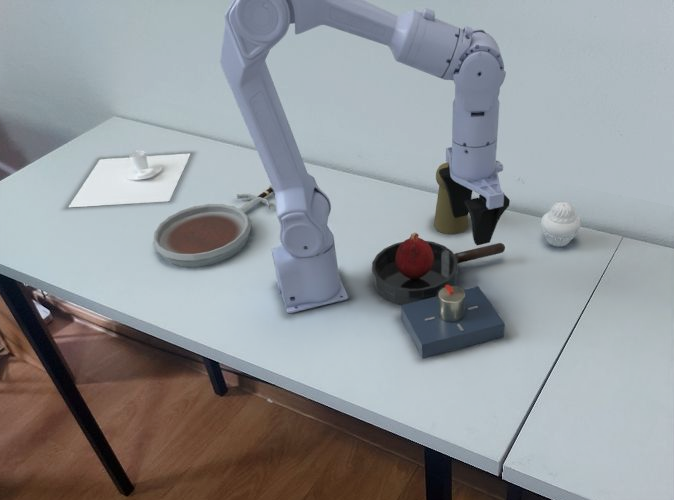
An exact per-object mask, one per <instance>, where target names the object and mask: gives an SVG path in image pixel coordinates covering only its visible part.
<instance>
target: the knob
mask: <svg viewBox="0 0 674 500" xmlns="http://www.w3.org/2000/svg"><path fill="white" fill-rule="evenodd" d="M464 290H465V289H463V288H462V287H460V286H457V285H456V286H450V285H445V287H444V288H442V289H441V290H440V291H439V294H438V305H439V317H440V318H441V319H443V320H444V321H448V322H455V321H459V320H461V319H462V318H463V317H464V314H465V292H464Z"/></svg>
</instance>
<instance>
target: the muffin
mask: <svg viewBox="0 0 674 500" xmlns="http://www.w3.org/2000/svg"><path fill="white" fill-rule="evenodd" d="M540 223H541V227H542V228H541V229H542V232H543V234H544V236H545V238H546V240H547V242H548V244H549V245H551V246H553V247H557V248H558V247H562V248H563V247H565V246H567V245H568V244H569V243H570V242H571V241H572V240H573V238H574V237H576V235H577V234H578V233H579V232H578V231H579V230H580V229H581V225H582V221H581V218H580V217H579V216H578V215H577V213H576V211H575V207H574V206H573V204H571V203H569V202H565V201H559V202H556V203H555V204H553V205H552V206H551V209H550V210H549V211H547V212H545V214H543V216H542V217H541V221H540Z"/></svg>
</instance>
